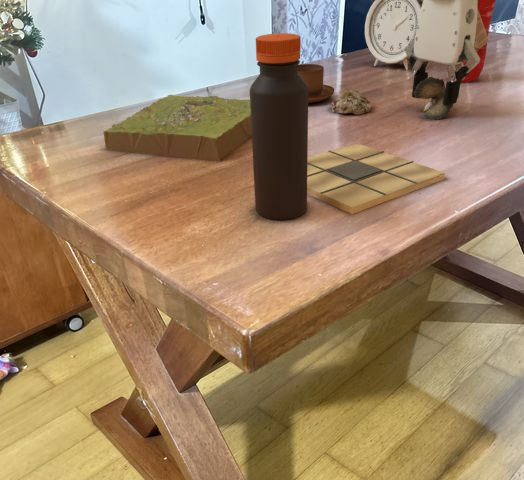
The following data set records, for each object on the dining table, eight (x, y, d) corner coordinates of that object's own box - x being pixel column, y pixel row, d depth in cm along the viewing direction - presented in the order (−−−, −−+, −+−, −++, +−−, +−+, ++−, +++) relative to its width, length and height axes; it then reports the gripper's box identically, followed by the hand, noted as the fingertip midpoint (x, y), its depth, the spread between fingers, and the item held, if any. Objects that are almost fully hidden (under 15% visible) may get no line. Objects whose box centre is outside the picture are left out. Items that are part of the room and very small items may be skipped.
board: (444, 179, 77) (445, 171, 76) (351, 214, 69) (352, 205, 68) (356, 149, 89) (356, 141, 88) (268, 176, 81) (268, 168, 80)
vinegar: (245, 215, 70) (234, 40, 58) (272, 196, 75) (267, 30, 62) (291, 225, 67) (289, 43, 55) (316, 205, 72) (320, 33, 59)
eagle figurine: (415, 99, 107) (402, 101, 100) (441, 66, 103) (430, 66, 96) (443, 125, 107) (432, 128, 100) (471, 93, 102) (461, 94, 95)
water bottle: (479, 88, 116) (507, -57, 100) (440, 87, 118) (462, -56, 103) (483, 76, 125) (509, -60, 109) (447, 74, 127) (468, -59, 111)
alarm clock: (358, 66, 138) (365, -39, 125) (376, 60, 143) (384, -42, 130) (417, 73, 130) (431, -40, 116) (433, 66, 135) (449, -43, 121)
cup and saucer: (292, 110, 108) (292, 77, 104) (268, 97, 117) (267, 66, 113) (344, 102, 112) (346, 69, 108) (316, 90, 121) (317, 59, 117)
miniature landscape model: (105, 150, 94) (98, 120, 90) (172, 113, 110) (168, 86, 107) (218, 161, 87) (215, 129, 84) (271, 120, 104) (270, 91, 101)
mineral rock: (372, 104, 101) (332, 90, 101) (364, 127, 104) (325, 114, 104) (378, 92, 109) (340, 79, 110) (370, 113, 112) (334, 101, 113)
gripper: (510, -13, 87) (485, 105, 98) (425, -18, 98) (412, 88, 109) (480, -8, 83) (458, 113, 95) (397, -15, 95) (385, 95, 106)
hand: (433, 99), depth 102 cm, fingers closed on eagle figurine, 6 cm apart
